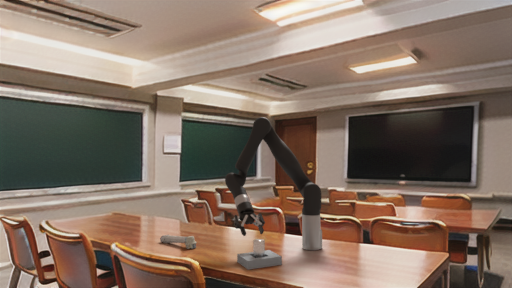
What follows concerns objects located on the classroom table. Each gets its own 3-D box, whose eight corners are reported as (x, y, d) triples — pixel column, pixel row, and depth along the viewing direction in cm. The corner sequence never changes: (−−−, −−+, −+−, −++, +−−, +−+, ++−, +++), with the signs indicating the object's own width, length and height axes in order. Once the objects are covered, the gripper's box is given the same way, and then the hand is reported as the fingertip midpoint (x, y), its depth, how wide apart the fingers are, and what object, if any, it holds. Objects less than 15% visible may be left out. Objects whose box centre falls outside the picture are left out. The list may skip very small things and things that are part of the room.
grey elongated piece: (166, 234, 198) (197, 233, 183) (167, 246, 197) (199, 246, 182) (158, 235, 194) (190, 235, 179) (159, 248, 193) (191, 249, 178)
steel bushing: (261, 261, 159) (261, 238, 159) (266, 264, 154) (266, 240, 154) (251, 262, 156) (251, 239, 157) (256, 265, 152) (256, 242, 152)
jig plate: (269, 257, 164) (269, 249, 164) (281, 264, 153) (281, 256, 153) (237, 261, 157) (237, 253, 157) (247, 269, 146) (247, 261, 146)
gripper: (232, 201, 167) (241, 230, 156) (259, 200, 173) (270, 227, 162) (228, 211, 171) (237, 240, 160) (254, 209, 177) (265, 237, 166)
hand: (253, 234), depth 161 cm, fingers open, 8 cm apart
